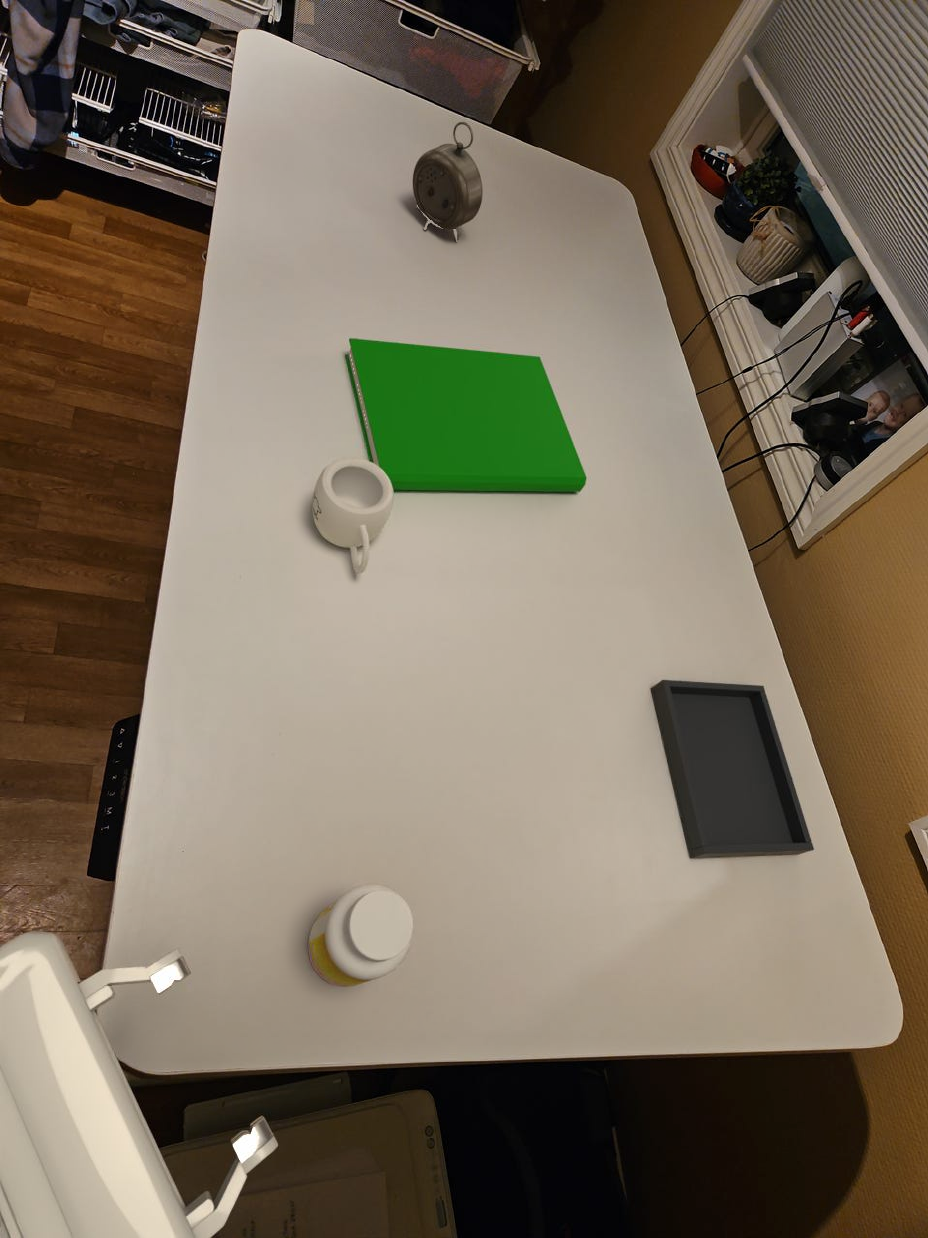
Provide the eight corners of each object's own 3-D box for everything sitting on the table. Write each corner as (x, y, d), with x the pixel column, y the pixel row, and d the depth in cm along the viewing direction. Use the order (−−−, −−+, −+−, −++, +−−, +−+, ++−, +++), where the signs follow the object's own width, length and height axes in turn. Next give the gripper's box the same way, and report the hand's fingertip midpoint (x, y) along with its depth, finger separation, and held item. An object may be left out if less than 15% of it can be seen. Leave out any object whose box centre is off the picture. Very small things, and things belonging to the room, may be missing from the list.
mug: (300, 496, 82) (311, 451, 76) (372, 496, 85) (388, 452, 79) (318, 587, 77) (331, 547, 71) (393, 583, 81) (412, 544, 74)
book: (345, 355, 95) (349, 337, 93) (531, 372, 106) (539, 356, 104) (377, 493, 86) (383, 477, 83) (577, 495, 97) (587, 481, 95)
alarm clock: (467, 243, 117) (505, 142, 103) (447, 253, 114) (483, 150, 100) (418, 202, 118) (449, 96, 104) (397, 210, 115) (426, 102, 101)
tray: (797, 854, 81) (814, 849, 79) (689, 858, 76) (704, 854, 74) (749, 693, 90) (763, 685, 88) (650, 688, 86) (662, 679, 83)
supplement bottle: (369, 998, 60) (410, 991, 50) (294, 972, 59) (320, 959, 49) (394, 916, 64) (437, 893, 53) (324, 890, 63) (354, 862, 52)
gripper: (4, 1587, 25) (339, 1259, 33) (-192, 1044, 30) (138, 862, 37) (32, 1493, 31) (316, 1227, 38) (-138, 1041, 35) (142, 882, 43)
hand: (226, 1042), depth 38 cm, fingers open, 8 cm apart
